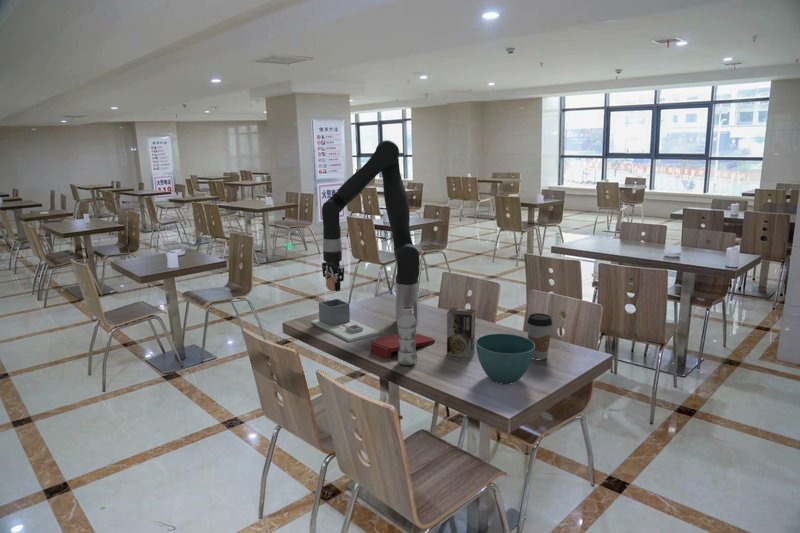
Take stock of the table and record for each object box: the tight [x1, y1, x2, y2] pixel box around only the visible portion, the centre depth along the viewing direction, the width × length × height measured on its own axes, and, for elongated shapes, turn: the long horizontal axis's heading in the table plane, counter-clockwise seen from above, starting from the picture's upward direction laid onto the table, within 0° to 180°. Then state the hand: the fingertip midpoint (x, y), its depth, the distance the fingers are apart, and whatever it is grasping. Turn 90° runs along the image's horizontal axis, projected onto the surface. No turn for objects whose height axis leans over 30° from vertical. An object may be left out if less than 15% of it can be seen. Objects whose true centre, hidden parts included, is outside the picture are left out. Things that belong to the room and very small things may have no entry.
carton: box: [370, 333, 436, 360], centre depth 204 cm, size 12×5×25 cm
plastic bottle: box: [396, 306, 418, 366], centre depth 187 cm, size 6×7×20 cm
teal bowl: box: [475, 333, 535, 385], centre depth 175 cm, size 18×18×12 cm
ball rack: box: [311, 298, 380, 342], centre depth 224 cm, size 29×14×9 cm, turn 38°
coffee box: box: [446, 307, 476, 359], centre depth 196 cm, size 9×6×16 cm
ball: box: [325, 277, 341, 292], centre depth 227 cm, size 6×6×6 cm
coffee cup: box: [527, 312, 553, 360], centre depth 193 cm, size 8×8×15 cm
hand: (333, 289), depth 228 cm, fingers closed on ball, 6 cm apart
